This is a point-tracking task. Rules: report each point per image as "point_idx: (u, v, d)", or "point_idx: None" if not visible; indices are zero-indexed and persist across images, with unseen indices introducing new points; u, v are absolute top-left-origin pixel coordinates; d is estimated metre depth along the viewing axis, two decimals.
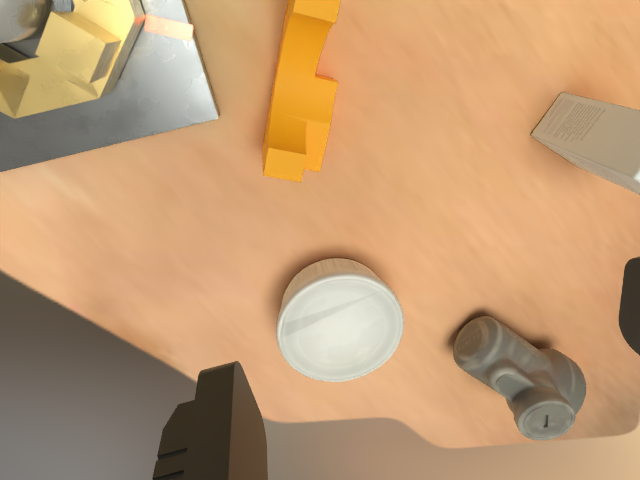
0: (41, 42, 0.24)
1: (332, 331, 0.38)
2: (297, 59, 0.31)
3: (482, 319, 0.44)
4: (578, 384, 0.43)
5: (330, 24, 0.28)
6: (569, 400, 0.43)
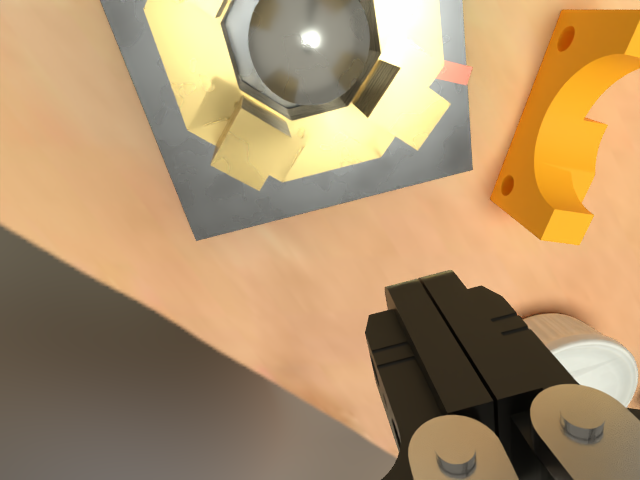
0: (379, 104, 0.19)
1: None
2: (572, 101, 0.26)
3: None
4: None
5: None
6: None
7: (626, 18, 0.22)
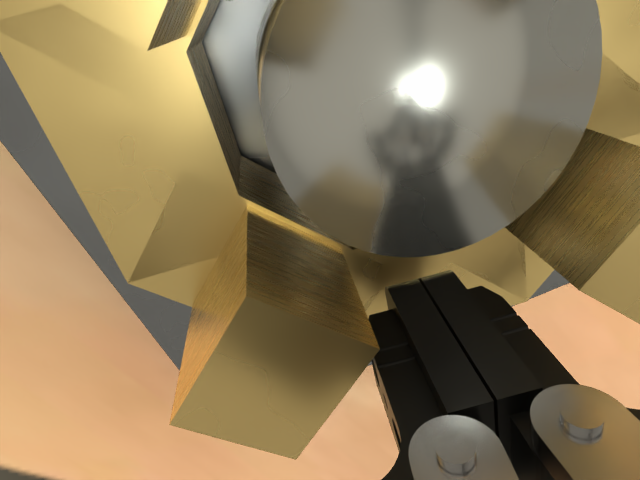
0: (615, 258, 0.07)
1: None
2: None
3: None
4: None
5: None
6: None
7: None
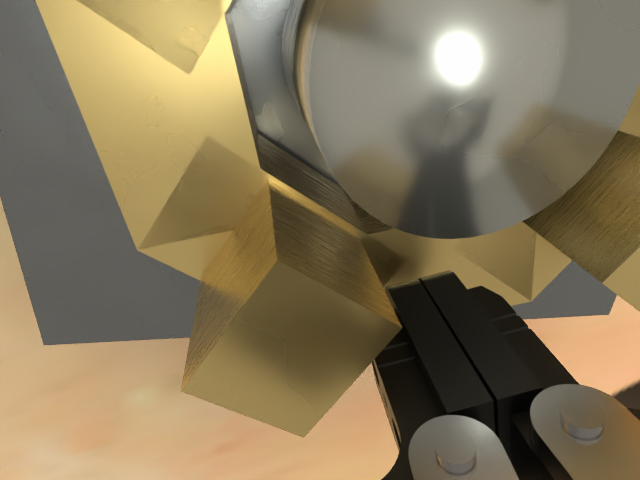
0: None
1: None
2: None
3: None
4: None
5: None
6: None
7: None
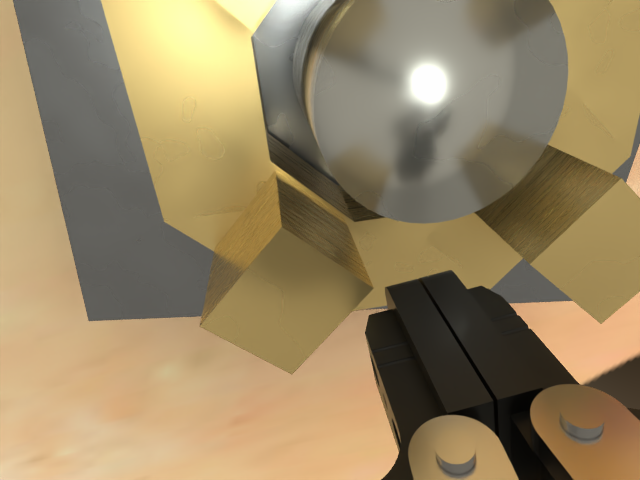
0: (559, 242, 0.09)
1: None
2: None
3: None
4: None
5: None
6: None
7: None
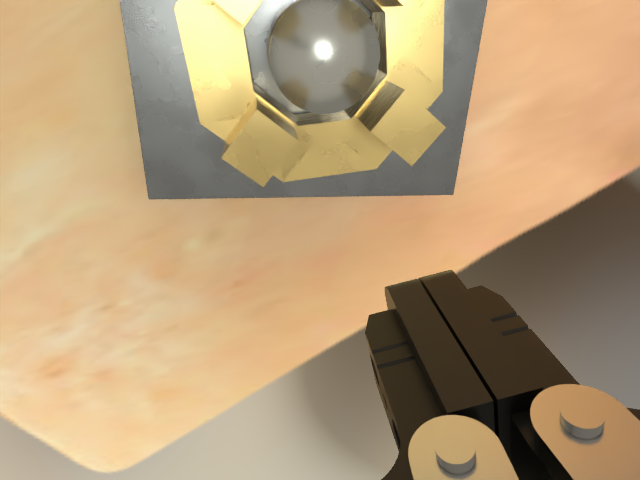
0: (382, 120, 0.21)
1: None
2: None
3: None
4: None
5: None
6: None
7: None
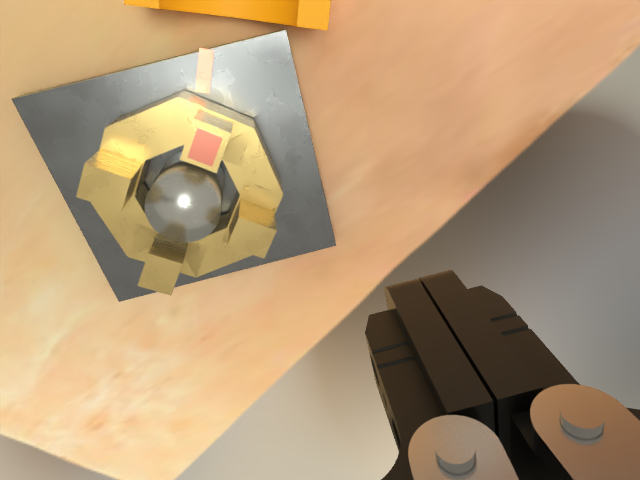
0: (231, 238, 0.31)
1: None
2: None
3: None
4: None
5: None
6: None
7: None
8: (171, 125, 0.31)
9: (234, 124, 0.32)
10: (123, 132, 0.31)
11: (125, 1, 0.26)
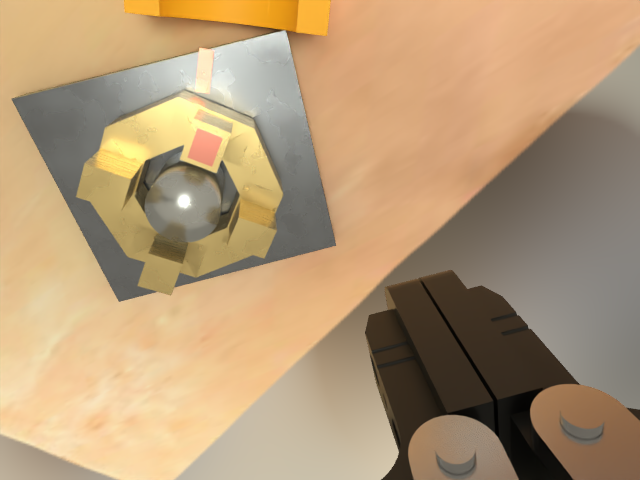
0: (231, 238, 0.31)
1: None
2: (211, 0, 0.30)
3: None
4: None
5: None
6: None
7: None
8: (171, 125, 0.31)
9: (234, 124, 0.32)
10: (123, 132, 0.31)
11: (126, 9, 0.26)
